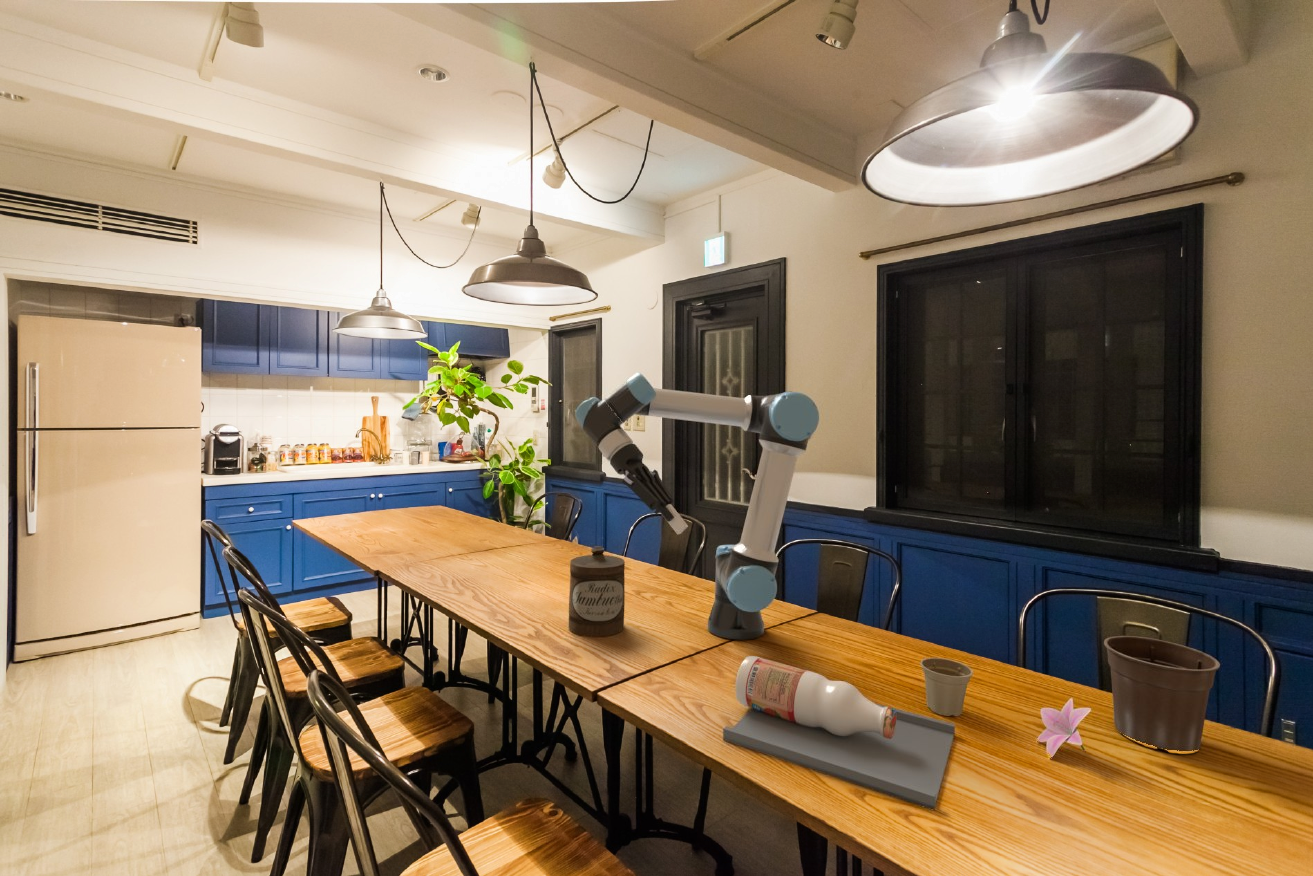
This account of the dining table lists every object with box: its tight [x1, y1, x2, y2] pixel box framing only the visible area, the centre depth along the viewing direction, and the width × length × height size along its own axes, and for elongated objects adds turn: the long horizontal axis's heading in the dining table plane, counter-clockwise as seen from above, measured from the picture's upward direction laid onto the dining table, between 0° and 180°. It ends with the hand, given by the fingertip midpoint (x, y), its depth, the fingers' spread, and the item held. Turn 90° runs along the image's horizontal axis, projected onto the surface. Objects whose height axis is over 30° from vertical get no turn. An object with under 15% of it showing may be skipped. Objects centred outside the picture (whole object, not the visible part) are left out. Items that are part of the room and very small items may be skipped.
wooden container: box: [568, 545, 626, 638], centre depth 162 cm, size 15×15×22 cm
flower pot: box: [919, 657, 974, 717], centre depth 120 cm, size 9×9×9 cm
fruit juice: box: [734, 655, 896, 739], centre depth 111 cm, size 9×9×28 cm
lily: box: [1036, 697, 1092, 758], centre depth 105 cm, size 11×11×9 cm
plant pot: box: [1103, 635, 1221, 751], centre depth 111 cm, size 16×16×16 cm
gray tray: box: [722, 702, 956, 811], centre depth 108 cm, size 34×26×2 cm
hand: (682, 530), depth 135 cm, fingers closed
